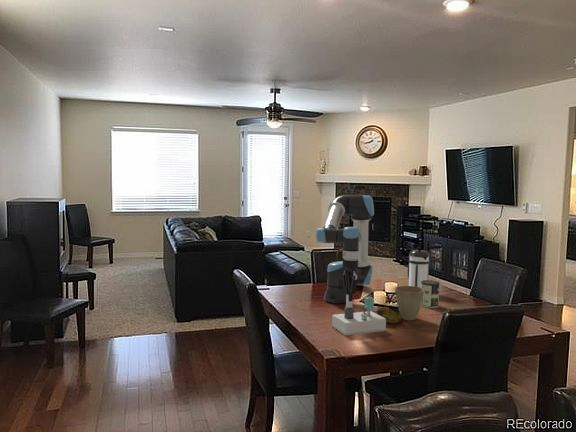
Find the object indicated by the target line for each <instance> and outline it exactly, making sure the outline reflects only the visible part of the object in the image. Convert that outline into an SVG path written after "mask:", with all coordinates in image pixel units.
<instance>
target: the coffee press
mask: <svg viewBox="0 0 576 432" xmlns="http://www.w3.org/2000/svg"><path fill="white" fill-rule="evenodd" d="M408 256H409V258H408V263H407V278H408V282H407V283H408V284H407V286H415V287H420V288H421V281H424V280H429V270H430V256H431V255H430V254H429V251H426V250H422V247H421V246H417V249H413V250H411V251H410V252H409V253H408Z"/></svg>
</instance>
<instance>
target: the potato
mask: <svg viewBox="0 0 576 432" xmlns="http://www.w3.org/2000/svg"><path fill="white" fill-rule="evenodd" d="M376 314H378V315H380V316H382V317H383V318H385V319H386V324H392V325H394V324H398V323H401V321H402V320H403V319H402V315H401V314H400V312H396V311H394V310H392V309H390V308H389V307H387V306H381V307H378V308H377V310H376Z"/></svg>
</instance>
